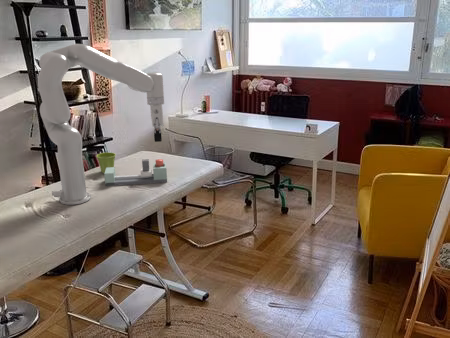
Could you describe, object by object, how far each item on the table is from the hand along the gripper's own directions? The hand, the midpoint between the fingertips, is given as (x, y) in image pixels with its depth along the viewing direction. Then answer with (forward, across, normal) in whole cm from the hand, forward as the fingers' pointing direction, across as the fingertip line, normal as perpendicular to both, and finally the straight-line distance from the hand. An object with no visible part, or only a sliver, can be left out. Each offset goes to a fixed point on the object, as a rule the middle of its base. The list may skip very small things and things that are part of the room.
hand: (158, 139), depth 205 cm
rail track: (+20, 0, +11) cm, 22 cm away
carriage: (+17, 0, +6) cm, 18 cm away
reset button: (+13, 0, 0) cm, 13 cm away
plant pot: (+20, +17, +26) cm, 37 cm away
